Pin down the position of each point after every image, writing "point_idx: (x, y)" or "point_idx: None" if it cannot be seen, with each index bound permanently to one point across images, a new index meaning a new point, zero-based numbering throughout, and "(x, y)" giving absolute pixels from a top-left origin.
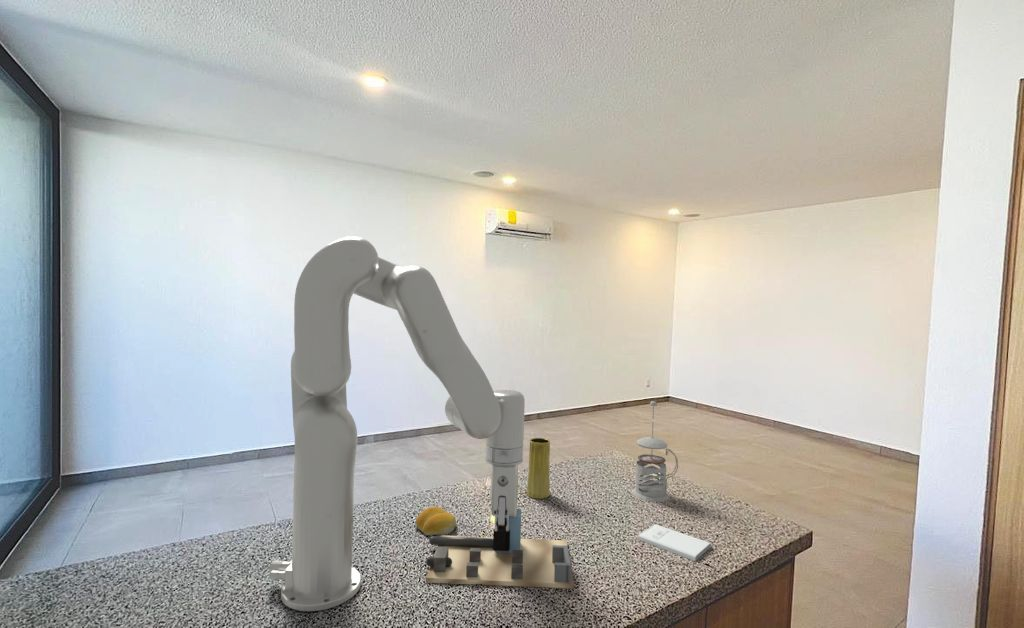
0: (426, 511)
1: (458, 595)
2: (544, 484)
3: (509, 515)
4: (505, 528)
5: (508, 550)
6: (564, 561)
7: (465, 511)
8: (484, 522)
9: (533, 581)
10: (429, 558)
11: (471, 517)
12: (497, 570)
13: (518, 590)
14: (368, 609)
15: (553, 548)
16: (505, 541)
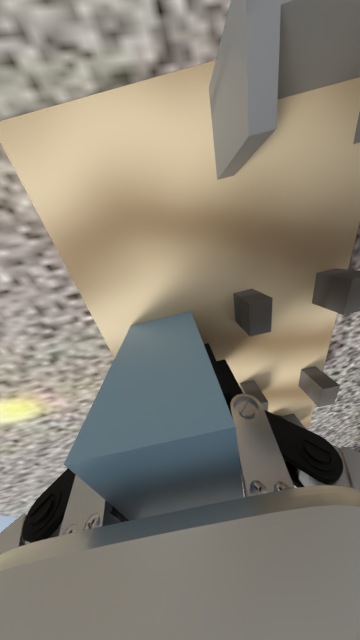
0: None
1: (346, 371)
2: None
3: (217, 478)
4: (296, 425)
5: (207, 344)
6: (353, 31)
7: (32, 459)
8: (53, 422)
9: (352, 230)
10: None
11: (50, 445)
12: (288, 339)
13: (350, 269)
14: (356, 439)
15: (272, 127)
16: (230, 371)
